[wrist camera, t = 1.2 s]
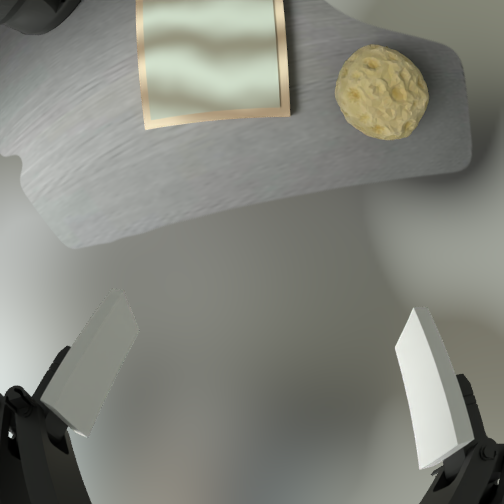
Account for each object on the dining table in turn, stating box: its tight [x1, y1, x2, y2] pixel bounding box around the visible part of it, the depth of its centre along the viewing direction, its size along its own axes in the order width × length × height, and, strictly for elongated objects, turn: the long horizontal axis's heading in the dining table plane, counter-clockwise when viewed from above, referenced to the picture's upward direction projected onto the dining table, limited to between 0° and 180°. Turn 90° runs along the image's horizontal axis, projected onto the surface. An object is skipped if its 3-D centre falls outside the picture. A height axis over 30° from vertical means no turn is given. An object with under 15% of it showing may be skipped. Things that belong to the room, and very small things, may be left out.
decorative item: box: [335, 44, 429, 140], centre depth 21 cm, size 10×10×10 cm
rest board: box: [136, 0, 290, 130], centre depth 22 cm, size 18×16×1 cm
